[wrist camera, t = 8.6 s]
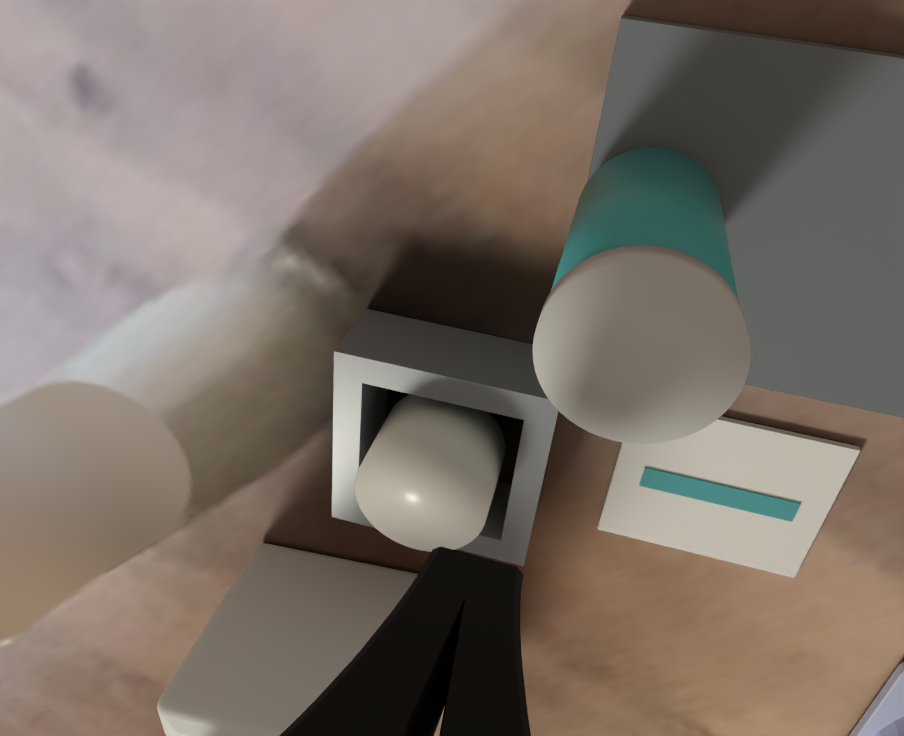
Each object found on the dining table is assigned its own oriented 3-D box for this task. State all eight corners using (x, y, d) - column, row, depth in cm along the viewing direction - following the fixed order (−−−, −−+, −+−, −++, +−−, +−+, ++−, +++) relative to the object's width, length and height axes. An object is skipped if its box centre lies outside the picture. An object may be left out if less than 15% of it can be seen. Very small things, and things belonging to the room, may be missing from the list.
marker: (741, 151, 16) (782, 285, 10) (698, 286, 18) (713, 464, 12) (592, 126, 17) (551, 241, 11) (565, 260, 18) (518, 419, 13)
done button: (514, 405, 20) (495, 464, 18) (496, 502, 22) (478, 565, 20) (388, 377, 21) (356, 430, 19) (382, 473, 23) (352, 532, 20)
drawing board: (1078, 79, 15) (1092, 85, 14) (902, 405, 19) (909, 419, 18) (622, 14, 16) (621, 17, 15) (556, 333, 20) (553, 343, 20)
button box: (571, 352, 20) (560, 402, 18) (536, 509, 24) (523, 566, 22) (366, 308, 21) (333, 351, 19) (359, 465, 25) (331, 516, 23)
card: (859, 446, 20) (860, 451, 20) (793, 572, 23) (794, 579, 22) (635, 397, 21) (634, 402, 20) (597, 524, 23) (597, 530, 23)
